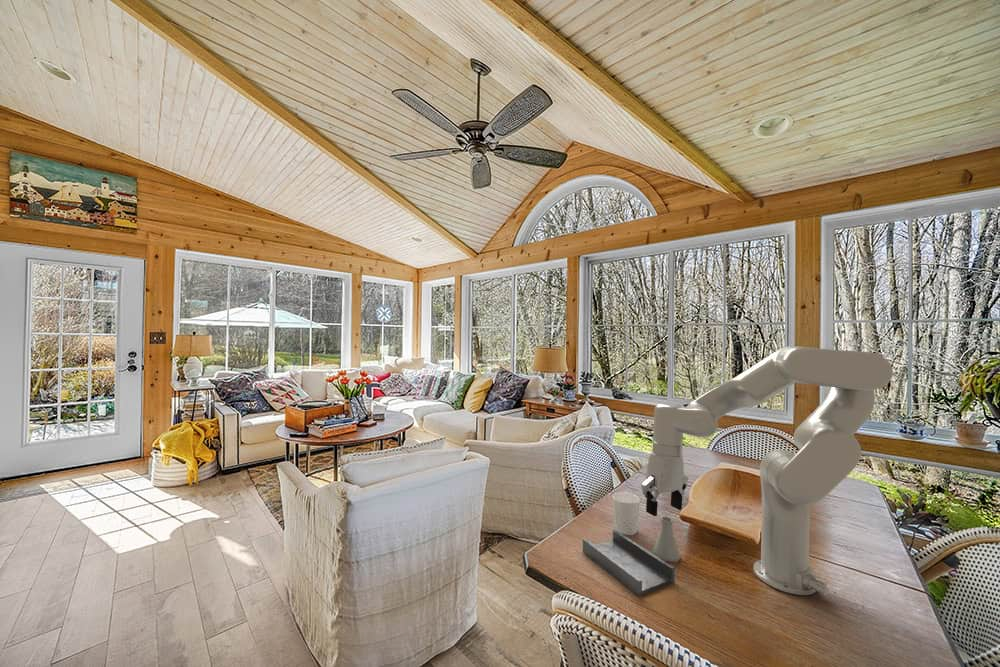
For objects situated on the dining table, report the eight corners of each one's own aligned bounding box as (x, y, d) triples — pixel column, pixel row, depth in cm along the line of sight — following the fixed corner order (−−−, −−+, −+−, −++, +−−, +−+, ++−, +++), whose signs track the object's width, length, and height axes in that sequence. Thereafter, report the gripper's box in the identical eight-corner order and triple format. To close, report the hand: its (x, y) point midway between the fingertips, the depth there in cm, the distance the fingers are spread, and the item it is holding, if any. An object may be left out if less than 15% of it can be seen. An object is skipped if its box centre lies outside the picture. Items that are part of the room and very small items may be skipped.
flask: (680, 551, 107) (681, 516, 107) (680, 565, 100) (681, 527, 100) (652, 545, 110) (653, 510, 110) (651, 558, 103) (651, 521, 103)
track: (674, 582, 94) (674, 567, 94) (638, 596, 88) (639, 581, 88) (615, 542, 111) (615, 529, 111) (582, 551, 106) (582, 539, 106)
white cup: (641, 538, 114) (641, 504, 114) (613, 534, 115) (614, 501, 116) (637, 525, 122) (637, 493, 122) (611, 522, 123) (611, 491, 123)
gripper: (676, 442, 113) (673, 500, 113) (633, 448, 105) (630, 510, 105) (700, 450, 106) (697, 511, 106) (656, 456, 98) (652, 523, 98)
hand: (664, 510), depth 105 cm, fingers open, 9 cm apart
